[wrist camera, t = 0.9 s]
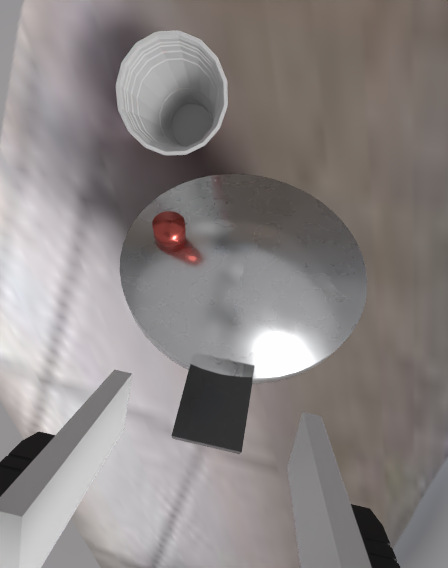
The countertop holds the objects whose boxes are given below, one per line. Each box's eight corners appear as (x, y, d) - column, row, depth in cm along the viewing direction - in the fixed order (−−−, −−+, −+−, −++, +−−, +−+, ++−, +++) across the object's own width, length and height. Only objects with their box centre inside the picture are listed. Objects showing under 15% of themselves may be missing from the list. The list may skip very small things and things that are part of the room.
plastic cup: (207, 186, 44) (190, 176, 32) (138, 142, 43) (96, 115, 32) (251, 111, 41) (250, 70, 29) (179, 63, 41) (149, 3, 29)
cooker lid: (164, 170, 32) (161, 138, 29) (356, 207, 31) (373, 178, 28) (54, 411, 20) (28, 398, 17) (364, 483, 19) (395, 483, 16)
